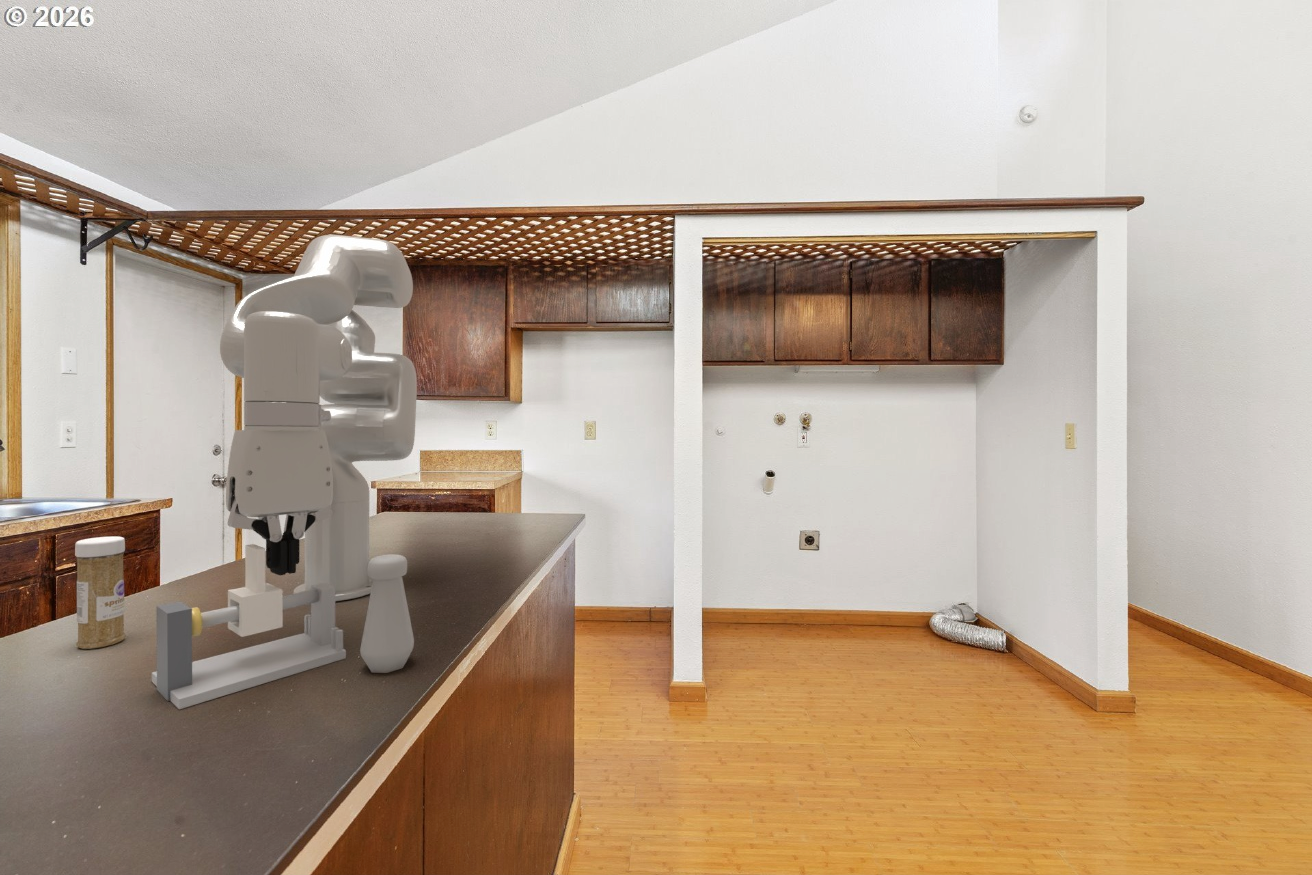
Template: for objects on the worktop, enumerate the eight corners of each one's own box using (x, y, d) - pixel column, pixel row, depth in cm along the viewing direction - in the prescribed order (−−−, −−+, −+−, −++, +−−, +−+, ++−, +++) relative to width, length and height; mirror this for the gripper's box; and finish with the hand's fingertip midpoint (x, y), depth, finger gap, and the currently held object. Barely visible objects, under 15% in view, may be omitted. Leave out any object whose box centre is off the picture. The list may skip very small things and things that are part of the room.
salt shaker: (362, 659, 69) (362, 552, 69) (413, 652, 71) (413, 549, 71) (358, 679, 64) (358, 563, 63) (414, 671, 66) (414, 559, 66)
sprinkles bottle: (121, 645, 73) (120, 539, 72) (70, 652, 70) (70, 543, 70) (129, 634, 76) (128, 534, 76) (81, 640, 74) (80, 537, 74)
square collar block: (267, 618, 69) (267, 541, 69) (282, 627, 66) (282, 546, 66) (227, 628, 66) (227, 546, 66) (241, 636, 63) (241, 552, 63)
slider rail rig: (312, 638, 76) (312, 570, 76) (348, 657, 70) (348, 583, 70) (149, 682, 62) (148, 600, 62) (176, 710, 56) (176, 619, 56)
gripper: (333, 419, 76) (333, 557, 76) (194, 417, 64) (194, 580, 64) (362, 419, 72) (361, 565, 72) (217, 417, 60) (218, 592, 60)
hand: (282, 572), depth 68 cm, fingers closed
